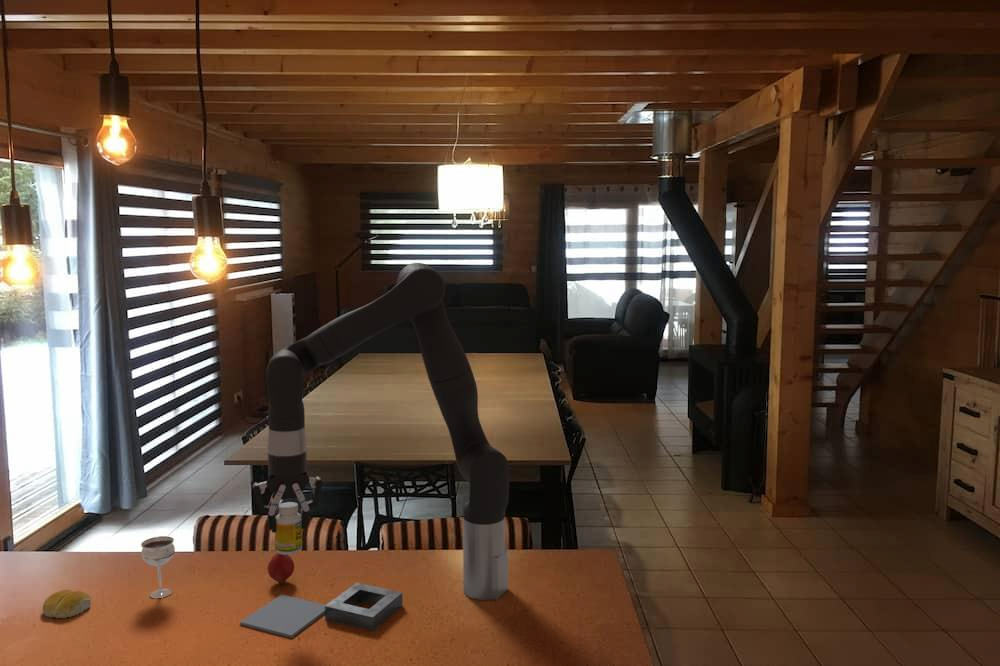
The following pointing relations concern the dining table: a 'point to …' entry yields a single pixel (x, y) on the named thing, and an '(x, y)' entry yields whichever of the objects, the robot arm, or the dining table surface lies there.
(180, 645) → the dining table surface
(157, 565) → the wineglass
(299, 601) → the rubber mat
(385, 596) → the holder ring
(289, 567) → the onion
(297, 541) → the supplement bottle
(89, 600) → the bread roll
